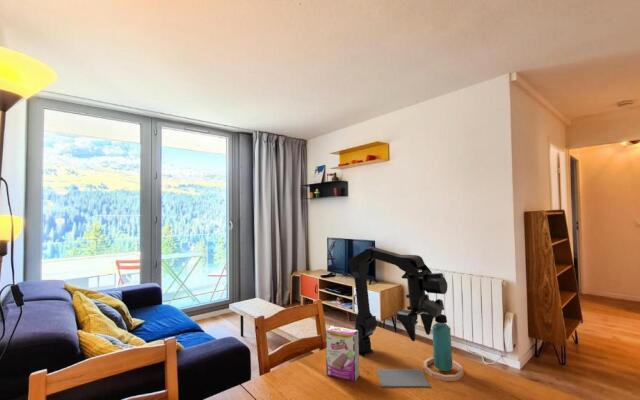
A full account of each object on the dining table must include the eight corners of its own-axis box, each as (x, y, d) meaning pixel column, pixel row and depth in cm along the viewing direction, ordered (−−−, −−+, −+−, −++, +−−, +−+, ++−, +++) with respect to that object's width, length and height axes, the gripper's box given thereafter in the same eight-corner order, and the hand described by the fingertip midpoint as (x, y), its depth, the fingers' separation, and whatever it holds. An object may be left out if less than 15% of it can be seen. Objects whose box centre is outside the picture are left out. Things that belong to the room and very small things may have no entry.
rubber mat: (381, 387, 100) (381, 385, 100) (376, 370, 110) (376, 369, 110) (429, 387, 100) (429, 385, 100) (420, 370, 110) (420, 369, 110)
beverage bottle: (454, 376, 106) (452, 319, 106) (434, 374, 107) (432, 318, 107) (450, 366, 112) (448, 312, 112) (431, 364, 113) (430, 311, 114)
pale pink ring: (416, 369, 110) (416, 365, 110) (437, 357, 119) (436, 353, 119) (449, 385, 100) (449, 381, 100) (469, 371, 108) (469, 367, 108)
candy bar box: (325, 375, 108) (324, 330, 108) (331, 368, 113) (330, 324, 113) (355, 382, 103) (354, 334, 104) (360, 375, 108) (358, 329, 108)
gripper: (422, 298, 95) (427, 350, 93) (451, 290, 107) (456, 336, 105) (393, 294, 104) (397, 342, 101) (423, 287, 115) (427, 329, 113)
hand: (420, 337), depth 105 cm, fingers open, 9 cm apart
